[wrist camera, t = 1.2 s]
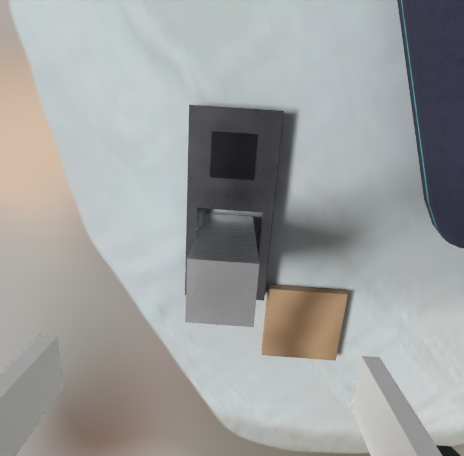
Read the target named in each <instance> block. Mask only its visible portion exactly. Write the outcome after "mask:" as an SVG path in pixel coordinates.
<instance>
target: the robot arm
mask: <svg viewBox="0 0 464 456" xmlns="http://www.w3.org/2000/svg"><path fill="white" fill-rule="evenodd" d="M62 389H63V380H62V372H61V361H60V352H59V343H58V336H56V335H39V336H38V337H37V338H36V339H35V340H34V341H33V342H32V343H31V344H30V345H29V346H28V347H27V348H26V349H25V350H24V351H23V352H22V353H21V354H20V355H19V356H18V357H17V358H16V359H15V360H14V361H13V362H12V363H11V364H10V365H9V366H8V367H7V368H6V369H5V370H4V371H3V372H2V373H1V374H0V456H16V454H17V453H18V452H19V450H20V449H21V447H22V446H23V444H24V443H25V442H26V440H27V439H28V437H29V436H30V434H31V433H32V432H33V430H34V428H35V427H36V426H37V425H38V423H39V422H40V420H41V419H42V417H43V416H44V415H45V413H46V412H47V410H48V409H49V407H50V406H51V404H52V403H53V402H54V400H55V399H56V398H57V396H58V395H59V393H60V392H61V390H62ZM351 409H352V411H353V414H354V416H355V418H356V421H357V423H358V426H359V428H360V430H361V433H362V435H363V438H364V440H365V442H366V445H367V447H368V450H369V452H370V455H371V456H460V455H459V454H458V453H457V452H456V451H455V450H454V449H453V448H452V447H451V446H437V445H435V443H434V442H433V440H432V439H431V437H430V435H429V434H428V432H427V431H426V429H425V428H424V426H423V425H422V423H421V421H420V420H419V418H418V417H417V415H416V414H415V412H414V410H413V409H412V407H411V406H410V404H409V403H408V401H407V400H406V398H405V396H404V395H403V393H402V392H401V390H400V389H399V387H398V385H397V384H396V382H395V381H394V379H393V378H392V376H391V374H390V373H389V371H388V370H387V368H386V367H385V365H384V364H383V362H382V360H381V359H380V357H365V356H362V358H361V363H360V367H359V372H358V377H357V382H356V386H355V391H354V396H353V401H352V405H351Z"/></svg>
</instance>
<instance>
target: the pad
mask: <svg viewBox="0 0 464 456" xmlns="http://www.w3.org/2000/svg"><path fill="white" fill-rule="evenodd" d="M347 297H348V294H347V292H346V291H345V290H340V289H326V288H312V287H297V286H283V285H268V295H267V304H266V314H265V323H264V333H263V342H262V355H269V356H283V357H297V358H311V359H325V360H336V356H337V350H338V345H339V339H340V334H341V329H342V323H343V318H344V313H345V307H346V302H347Z"/></svg>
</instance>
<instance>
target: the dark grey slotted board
mask: <svg viewBox="0 0 464 456" xmlns="http://www.w3.org/2000/svg"><path fill="white" fill-rule="evenodd" d="M282 120H283V111H274V110H259V109H243V108H227V107H212V106H196V105H189V146H188V191H187V235H186V280H187V258H188V255H189V253H190V251H191V249H192V246H193V244H194V242H195V240H196V237H197V235H198V219H199V208H207V209H222V210H237V211H252V212H262V216H261V227H260V238H259V248H258V258H259V273H258V284H257V294H256V300H264V295H265V286H266V276H267V266H268V256H269V247H270V237H271V227H272V217H273V208H274V198H275V188H276V178H277V169H278V159H279V149H280V139H281V129H282ZM186 280H185V295H186Z"/></svg>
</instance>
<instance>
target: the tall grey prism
mask: <svg viewBox="0 0 464 456" xmlns="http://www.w3.org/2000/svg"><path fill="white" fill-rule="evenodd" d="M258 273H259V258H258V250H257V243H256V236H255V229H254V221H253V216H242V215H227V214H213V213H207V215H206V217H205V219H204V222H203V224H202V226H201V228H200V231H199V233H198V235H197V237H196V240H195V242H194V244H193V246H192V249H191V251H190V253H189V255H188V258H187V280H186V322H191V323H205V324H219V325H233V326H247V327H253V326H254V316H255V305H256V294H257V284H258Z"/></svg>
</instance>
